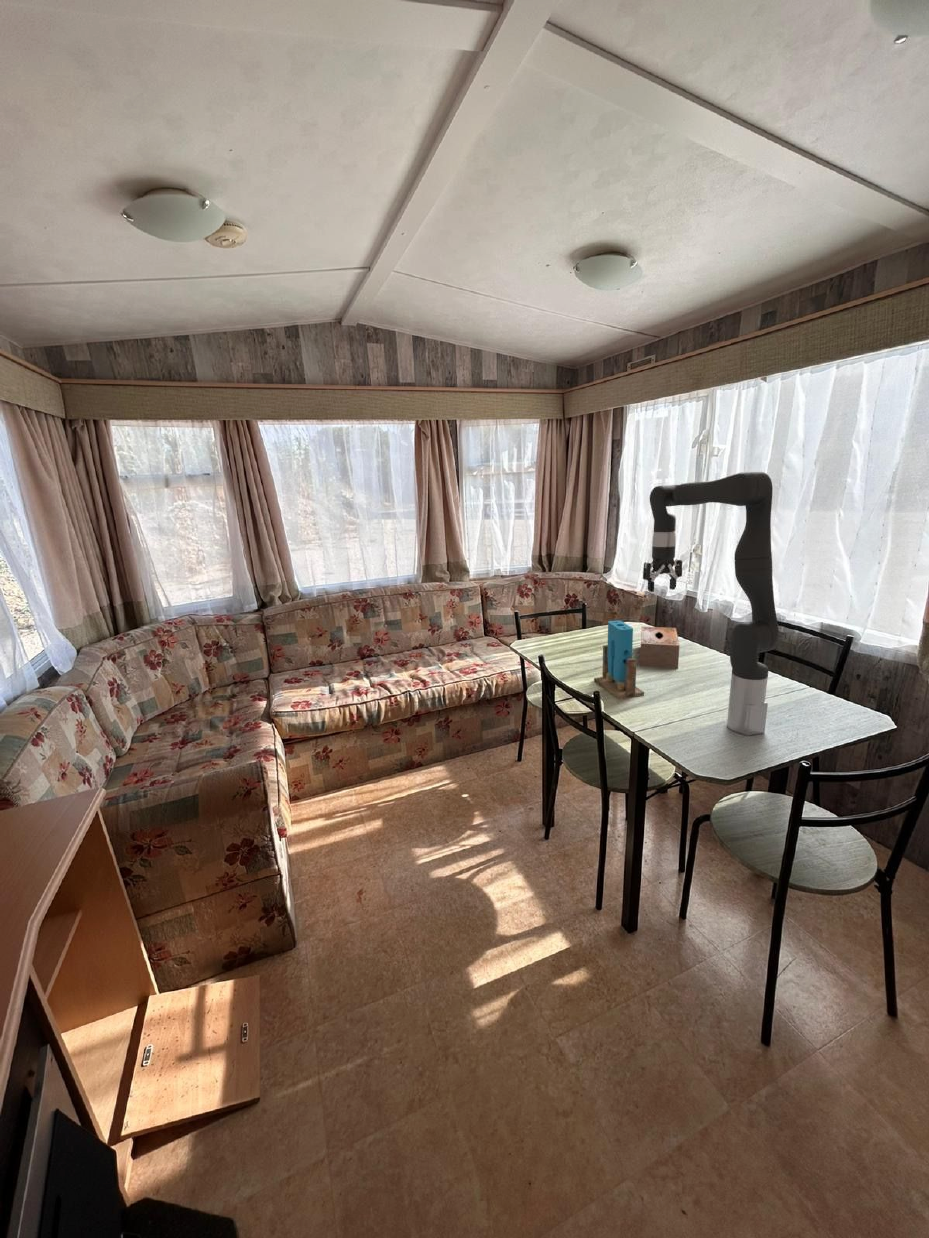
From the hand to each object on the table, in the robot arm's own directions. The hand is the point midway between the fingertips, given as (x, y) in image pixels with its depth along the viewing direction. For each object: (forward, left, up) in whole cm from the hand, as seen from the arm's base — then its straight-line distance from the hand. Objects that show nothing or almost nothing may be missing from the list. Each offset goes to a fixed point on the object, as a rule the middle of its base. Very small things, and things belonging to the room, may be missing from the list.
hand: (661, 590), depth 175 cm
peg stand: (+2, +15, -36) cm, 39 cm away
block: (+2, +15, -32) cm, 35 cm away
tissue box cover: (+26, -18, -36) cm, 48 cm away
